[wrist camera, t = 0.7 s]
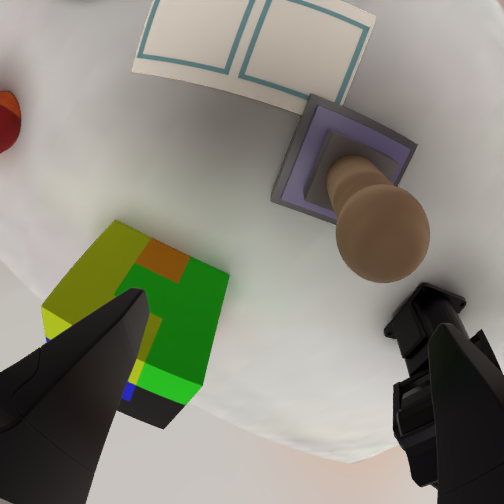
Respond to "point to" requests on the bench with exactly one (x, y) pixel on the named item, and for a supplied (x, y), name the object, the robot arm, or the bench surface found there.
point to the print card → (257, 47)
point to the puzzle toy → (160, 318)
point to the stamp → (368, 209)
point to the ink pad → (310, 142)
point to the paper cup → (9, 120)
